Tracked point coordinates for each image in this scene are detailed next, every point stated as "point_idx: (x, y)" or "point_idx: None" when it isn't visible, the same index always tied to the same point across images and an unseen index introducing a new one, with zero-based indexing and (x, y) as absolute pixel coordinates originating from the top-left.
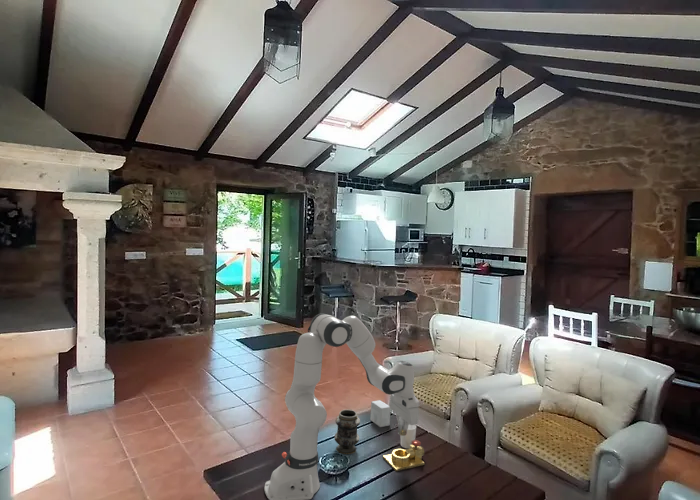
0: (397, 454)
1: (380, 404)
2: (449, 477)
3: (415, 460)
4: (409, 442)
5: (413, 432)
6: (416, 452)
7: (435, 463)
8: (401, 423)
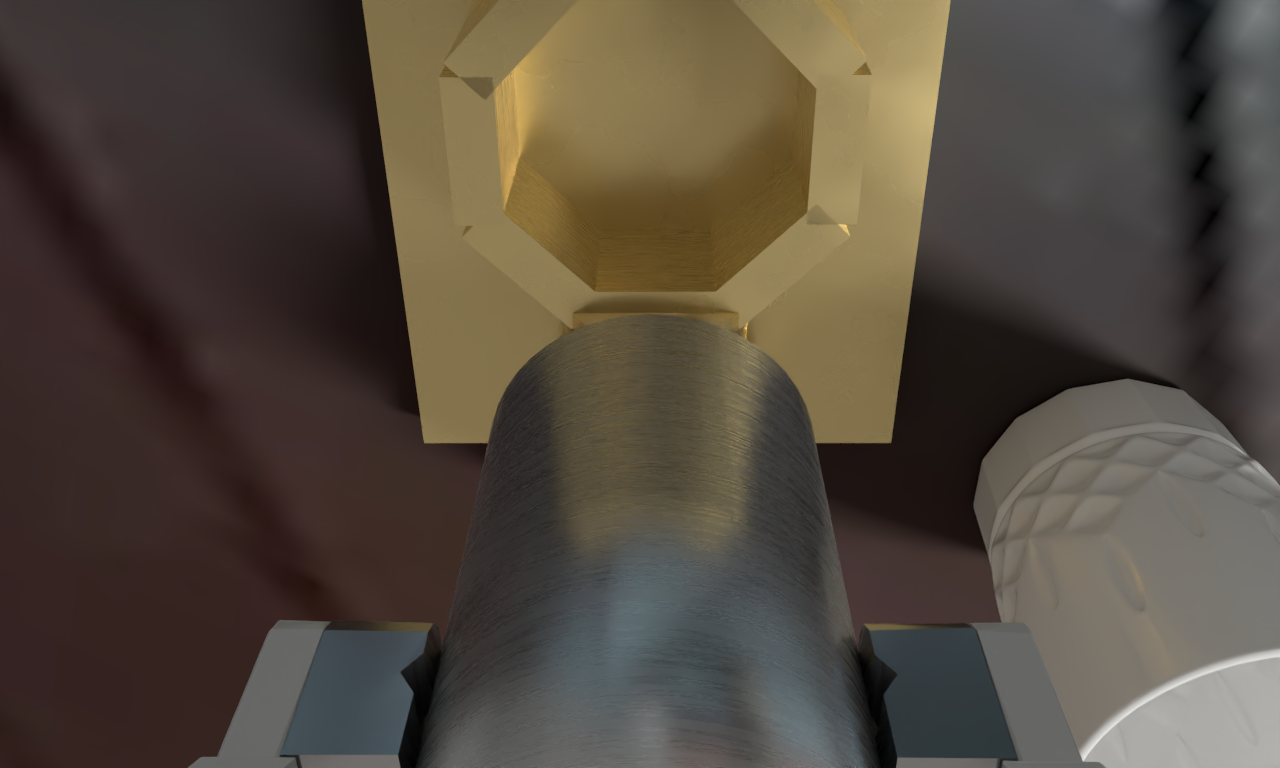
0: (801, 115)
1: None
2: (22, 553)
3: (533, 346)
4: (1008, 528)
5: None
6: None
7: (424, 575)
8: (470, 727)
